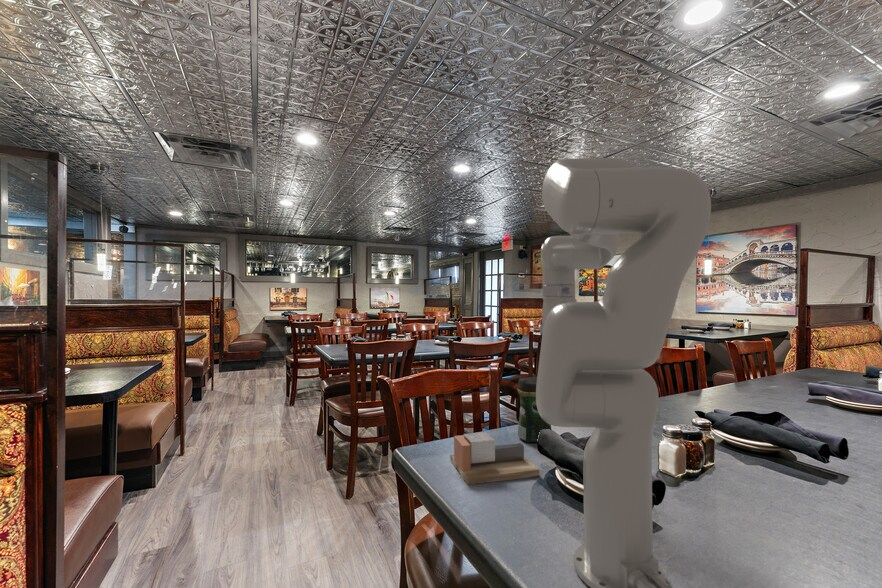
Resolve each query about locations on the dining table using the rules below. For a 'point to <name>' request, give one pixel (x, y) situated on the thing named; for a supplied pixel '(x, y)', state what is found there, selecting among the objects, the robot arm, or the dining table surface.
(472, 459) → the saddle block
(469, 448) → the stop
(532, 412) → the coffee jar
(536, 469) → the board
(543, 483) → the dining table surface
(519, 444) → the rail
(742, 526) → the dining table surface
